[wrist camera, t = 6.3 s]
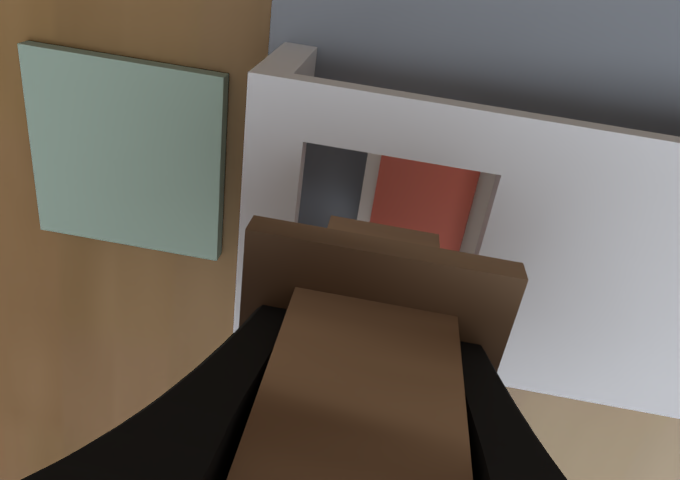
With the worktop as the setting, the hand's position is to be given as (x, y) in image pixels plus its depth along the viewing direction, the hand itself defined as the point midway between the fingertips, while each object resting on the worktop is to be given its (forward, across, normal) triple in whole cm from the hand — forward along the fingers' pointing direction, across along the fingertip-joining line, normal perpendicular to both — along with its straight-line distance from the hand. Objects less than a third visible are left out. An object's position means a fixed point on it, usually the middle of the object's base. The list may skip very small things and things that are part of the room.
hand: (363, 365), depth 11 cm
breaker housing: (+10, -4, 0) cm, 11 cm away
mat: (+10, +9, +1) cm, 14 cm away
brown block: (+4, 0, 0) cm, 4 cm away
